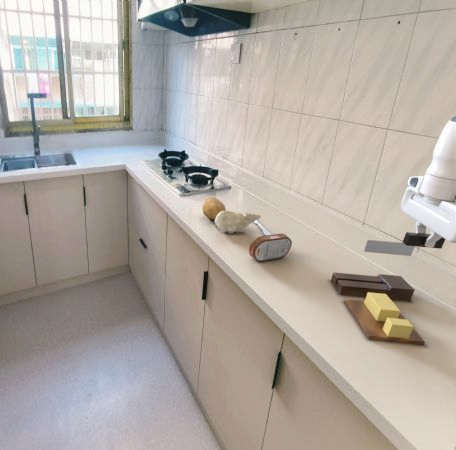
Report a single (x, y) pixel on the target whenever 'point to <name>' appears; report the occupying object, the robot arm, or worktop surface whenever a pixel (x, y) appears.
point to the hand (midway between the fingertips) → (423, 243)
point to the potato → (212, 207)
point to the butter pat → (398, 328)
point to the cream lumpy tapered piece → (234, 221)
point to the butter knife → (262, 227)
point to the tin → (270, 247)
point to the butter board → (377, 324)
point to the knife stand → (372, 285)
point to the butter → (381, 306)
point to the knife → (401, 244)
